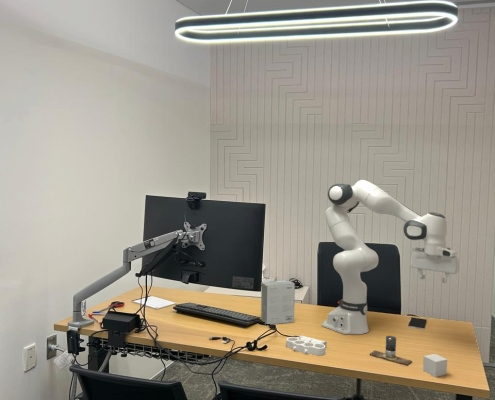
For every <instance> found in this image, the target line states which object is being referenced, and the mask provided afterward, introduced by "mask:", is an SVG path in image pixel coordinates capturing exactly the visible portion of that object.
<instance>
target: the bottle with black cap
mask: <svg viewBox="0 0 495 400" xmlns="http://www.w3.org/2000/svg"><path fill="white" fill-rule="evenodd" d="M396 349H397V337H396V336H393V335H387V336H386V337H385V352H384V353H385V357H387V358H391V359H393V358H395V356H397V355H396V354H397V351H396Z"/></svg>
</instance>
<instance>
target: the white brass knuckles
mask: <svg viewBox="0 0 495 400" xmlns="http://www.w3.org/2000/svg"><path fill="white" fill-rule="evenodd" d="M327 343H328V342H327V341H325V340H320V339H316V338H315V337H308V336H305V335H300V336H297V337H295V336H289V337H287V338H286V340H285V346H286V348H289V349H292V350H293V351H295V352H298V353H302V354H305V355H315V356H324V355H326V346H327Z"/></svg>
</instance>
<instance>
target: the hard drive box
mask: <svg viewBox="0 0 495 400" xmlns="http://www.w3.org/2000/svg"><path fill="white" fill-rule="evenodd" d="M261 282H262V283H261V286H260V287H261V288H260V289H261V290H260V292H261V293H260V294H261V302H260V305H261V306H260V311H261V312H260V313H261V314H260V315H261V316H260V321H261V320H262V321H263V322H265V323H264V325H266V324H270V325H277V324H289V323H295V300H296V299H295V297H296V296H295V295H296V294H295V293H296V291H295V290H296V289H295V287H296V284H295V283H294V282H293V281H291V280H289V279H288V280H274V281H273V280H272V281H264V282H263V281H261ZM262 321H261V322H262ZM263 322H262V323H263Z"/></svg>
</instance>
